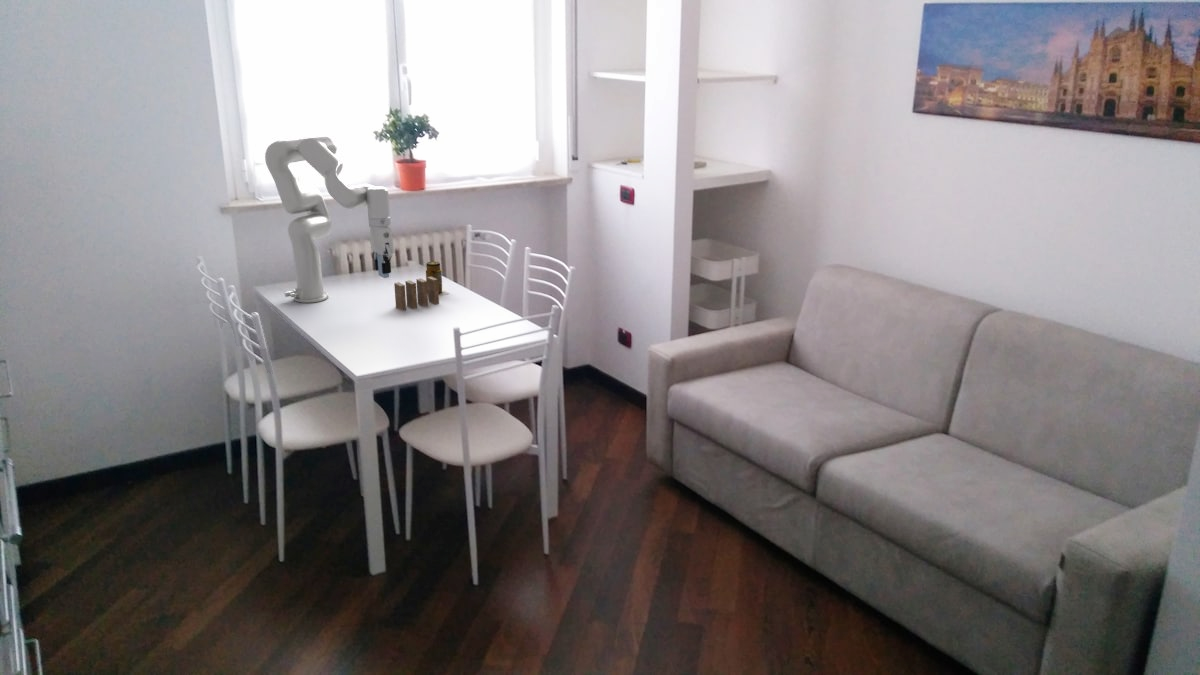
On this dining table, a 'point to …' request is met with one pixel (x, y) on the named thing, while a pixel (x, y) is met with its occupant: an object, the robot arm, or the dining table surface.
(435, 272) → the condiment
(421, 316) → the dining table surface
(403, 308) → the domino
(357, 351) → the dining table surface
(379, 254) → the domino
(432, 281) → the domino
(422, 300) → the domino
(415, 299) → the domino
